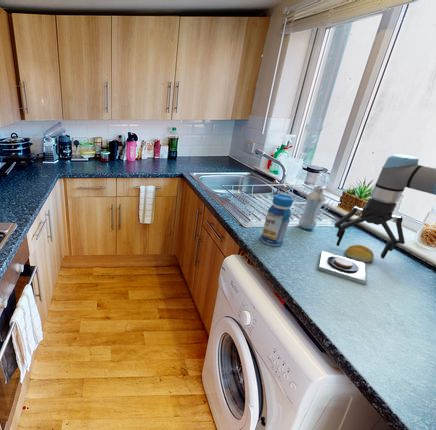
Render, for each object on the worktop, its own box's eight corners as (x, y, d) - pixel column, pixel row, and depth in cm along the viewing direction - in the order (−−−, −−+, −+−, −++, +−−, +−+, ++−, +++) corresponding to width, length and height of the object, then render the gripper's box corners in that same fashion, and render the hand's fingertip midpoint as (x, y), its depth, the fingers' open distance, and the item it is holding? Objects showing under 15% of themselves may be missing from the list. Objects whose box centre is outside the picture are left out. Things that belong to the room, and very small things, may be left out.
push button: (363, 266, 104) (366, 260, 103) (364, 284, 94) (367, 277, 93) (320, 254, 111) (323, 247, 110) (317, 269, 101) (320, 263, 100)
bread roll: (341, 255, 110) (345, 247, 108) (349, 248, 115) (352, 239, 114) (368, 265, 104) (372, 256, 103) (375, 257, 109) (379, 248, 108)
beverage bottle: (285, 247, 115) (300, 201, 107) (263, 245, 116) (276, 199, 108) (278, 237, 123) (291, 193, 114) (257, 235, 124) (268, 192, 115)
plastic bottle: (300, 223, 136) (313, 183, 127) (316, 228, 131) (331, 187, 122) (294, 227, 132) (308, 186, 123) (311, 232, 127) (326, 190, 119)
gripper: (430, 205, 96) (401, 257, 105) (340, 188, 109) (321, 236, 119) (435, 212, 91) (404, 267, 100) (339, 193, 104) (319, 243, 113)
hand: (359, 250), depth 109 cm, fingers open, 13 cm apart
